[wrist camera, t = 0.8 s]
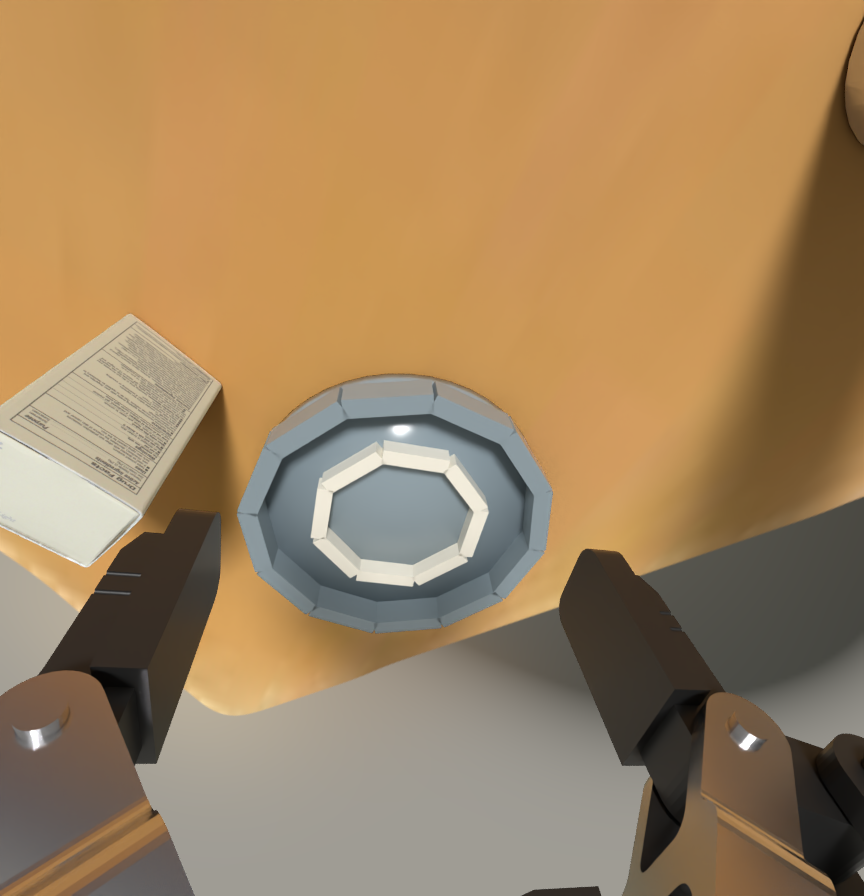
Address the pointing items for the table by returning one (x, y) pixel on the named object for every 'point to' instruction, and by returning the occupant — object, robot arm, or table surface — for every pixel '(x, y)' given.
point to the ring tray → (395, 504)
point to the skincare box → (98, 439)
